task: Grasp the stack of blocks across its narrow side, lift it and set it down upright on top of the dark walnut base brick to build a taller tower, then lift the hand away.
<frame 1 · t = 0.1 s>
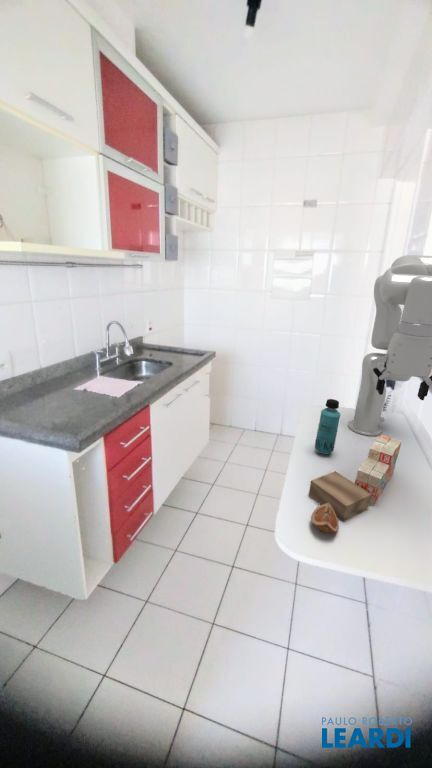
hand: (399, 395, 88), 31 cm above the table, tool pointing down, fingers open, 9 cm apart
walnut base brick: (337, 502, 95), on the table
stack of blocks: (373, 485, 104), on the table
beverage bottle: (323, 453, 120), on the table
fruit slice: (323, 528, 85), on the table
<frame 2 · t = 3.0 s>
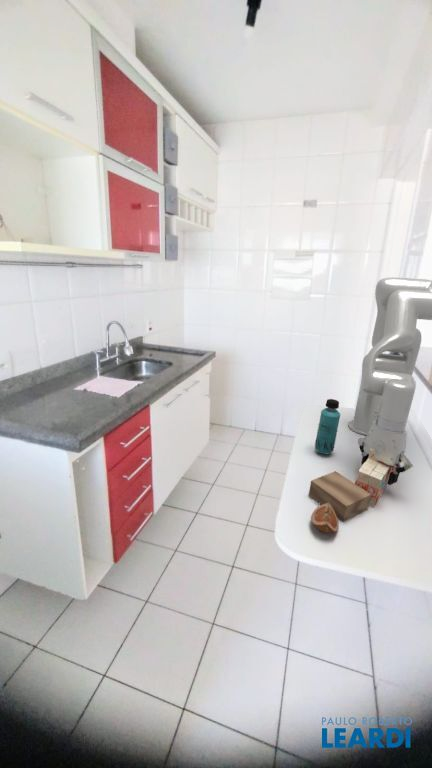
hand: (377, 474, 102), 4 cm above the table, tool pointing down, fingers open, 8 cm apart
stack of blocks: (373, 486, 103), on the table, touching gripper
everything else where it was.
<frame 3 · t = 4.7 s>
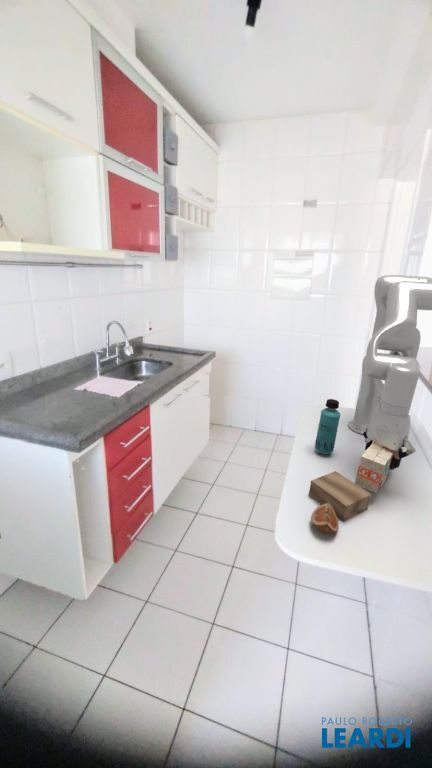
hand: (380, 460, 101), 8 cm above the table, tool pointing down, fingers closed on stack of blocks, 7 cm apart
stack of blocks: (377, 472, 102), point 4 cm above the table, touching gripper
everything else where it was.
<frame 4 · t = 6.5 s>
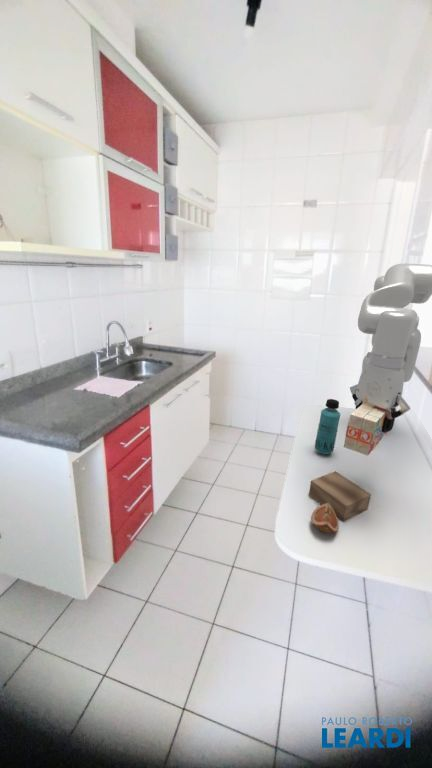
hand: (371, 424, 91), 22 cm above the table, tool pointing down, fingers closed on stack of blocks, 7 cm apart
stack of blocks: (368, 437, 92), point 19 cm above the table, touching gripper
everything else where it was.
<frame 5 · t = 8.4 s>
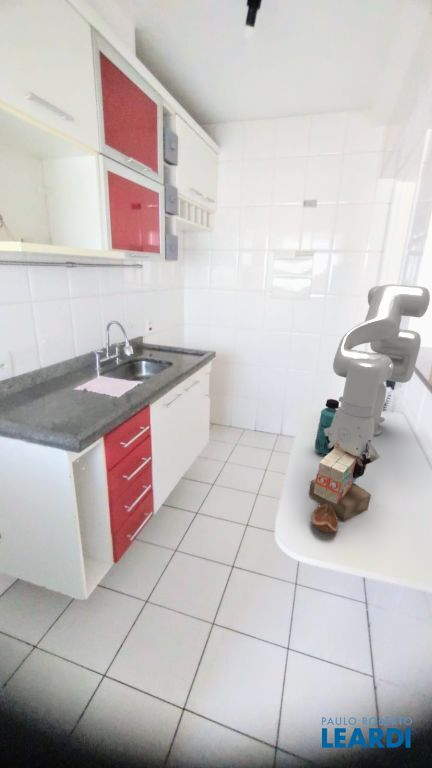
hand: (344, 467, 91), 11 cm above the table, tool pointing down, fingers closed on stack of blocks, 7 cm apart
stack of blocks: (341, 480, 92), point 7 cm above the table, touching gripper
everything else where it was.
when the fingers open (9 cm above the table, at t = 9.7 s): stack of blocks stays where it is, resting on walnut base brick.
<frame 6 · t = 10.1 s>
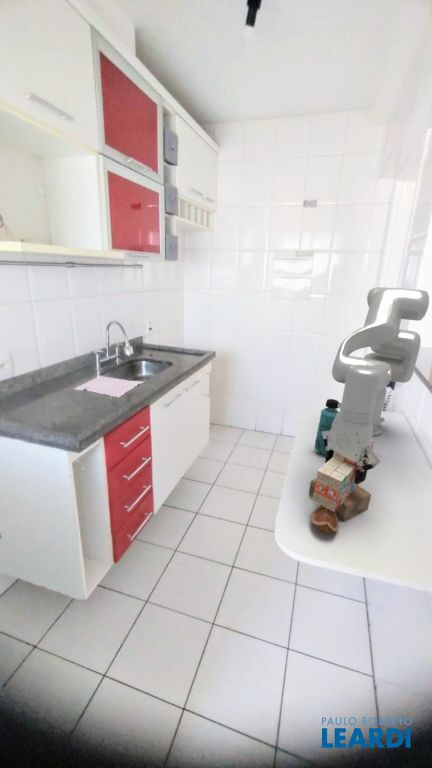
hand: (343, 472, 92), 10 cm above the table, tool pointing down, fingers open, 9 cm apart
stack of blocks: (340, 488, 93), point 5 cm above the table, touching walnut base brick
everything else where it was.
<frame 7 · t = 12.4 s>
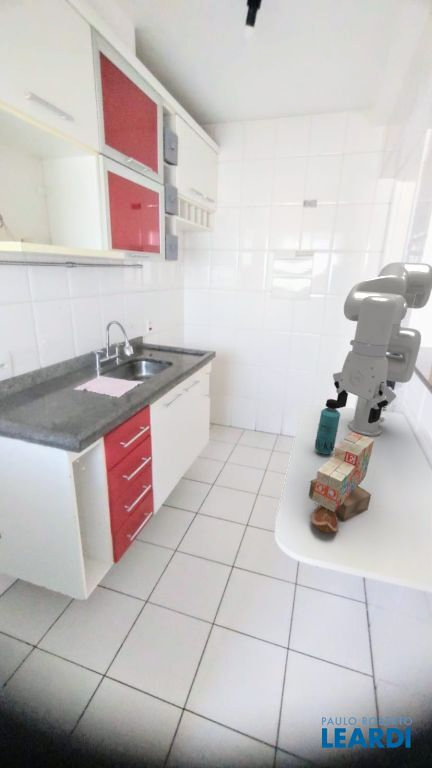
hand: (356, 414, 87), 26 cm above the table, tool pointing down, fingers open, 9 cm apart
nothing on the table moved.
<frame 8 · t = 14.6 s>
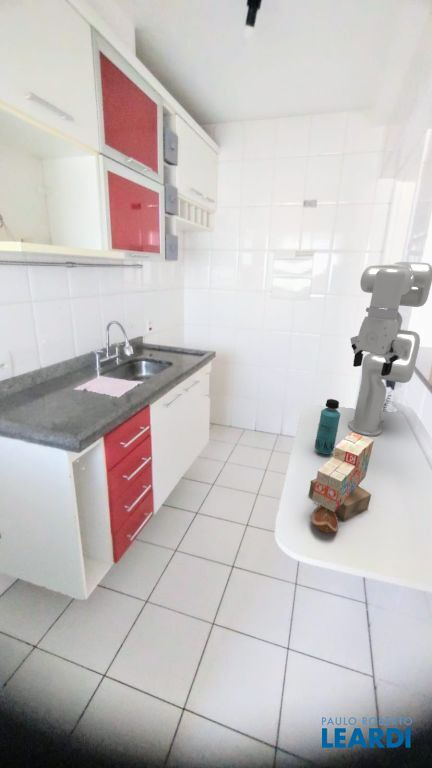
hand: (370, 370, 104), 32 cm above the table, tool pointing down, fingers open, 9 cm apart
nothing on the table moved.
at the end: stack of blocks 0.6 cm off-centre on the walnut base brick, point 4.8 cm above the walnut base brick's base; stack of blocks tilted 0°; the gripper is holding nothing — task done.
